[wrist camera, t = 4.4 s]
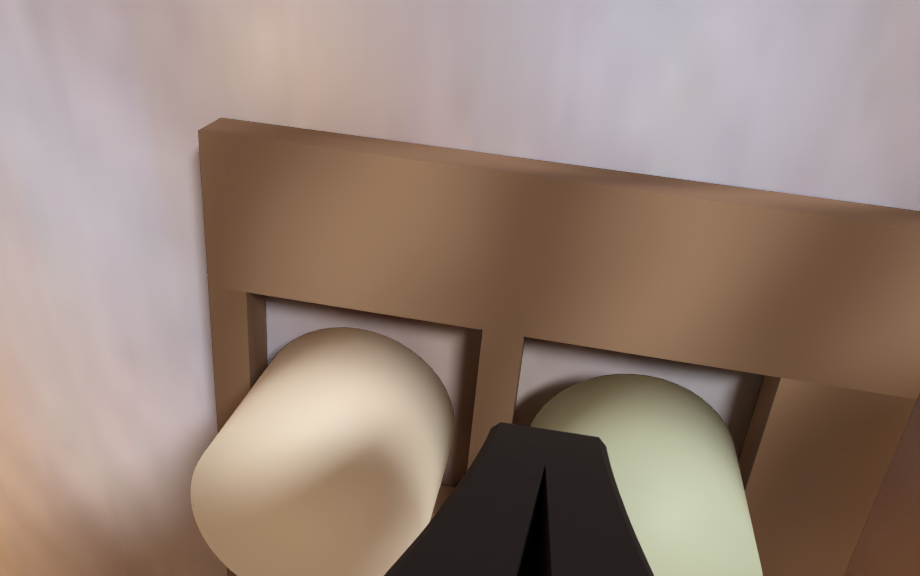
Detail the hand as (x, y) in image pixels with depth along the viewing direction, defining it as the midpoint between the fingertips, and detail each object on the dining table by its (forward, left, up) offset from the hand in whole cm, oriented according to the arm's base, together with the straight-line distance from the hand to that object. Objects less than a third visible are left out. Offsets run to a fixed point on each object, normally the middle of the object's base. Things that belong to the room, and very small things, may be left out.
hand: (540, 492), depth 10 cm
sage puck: (-2, +6, -8) cm, 11 cm away
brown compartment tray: (0, +10, -10) cm, 14 cm away
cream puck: (+5, +6, -8) cm, 11 cm away
